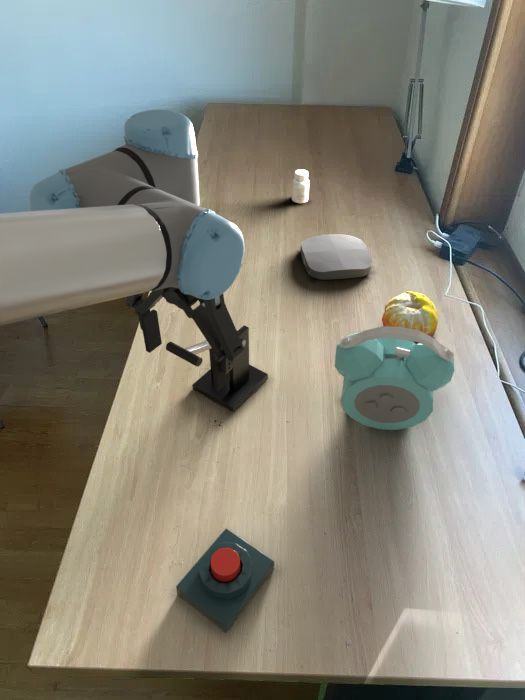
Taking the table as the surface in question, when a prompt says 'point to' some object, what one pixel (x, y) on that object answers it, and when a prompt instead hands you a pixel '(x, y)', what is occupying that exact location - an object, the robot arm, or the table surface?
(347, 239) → the media streaming box
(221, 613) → the button box
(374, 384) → the alarm clock
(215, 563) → the button
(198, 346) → the lever
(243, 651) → the table surface
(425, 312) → the fruit
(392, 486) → the table surface
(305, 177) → the pill bottle
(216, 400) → the bracket
